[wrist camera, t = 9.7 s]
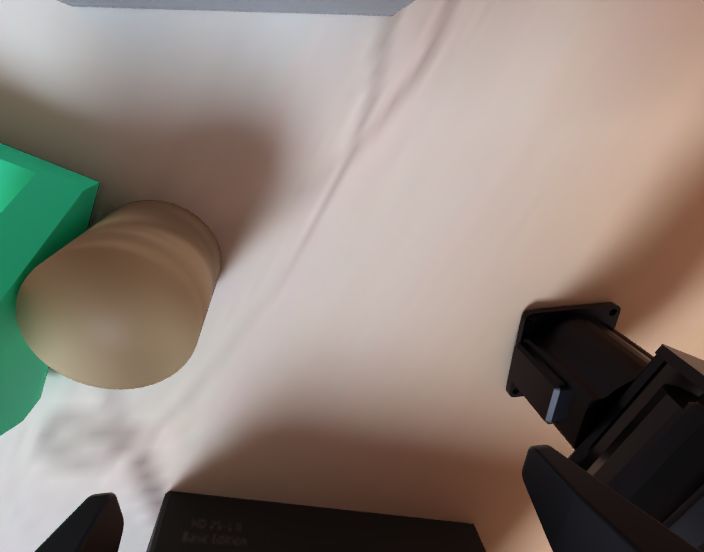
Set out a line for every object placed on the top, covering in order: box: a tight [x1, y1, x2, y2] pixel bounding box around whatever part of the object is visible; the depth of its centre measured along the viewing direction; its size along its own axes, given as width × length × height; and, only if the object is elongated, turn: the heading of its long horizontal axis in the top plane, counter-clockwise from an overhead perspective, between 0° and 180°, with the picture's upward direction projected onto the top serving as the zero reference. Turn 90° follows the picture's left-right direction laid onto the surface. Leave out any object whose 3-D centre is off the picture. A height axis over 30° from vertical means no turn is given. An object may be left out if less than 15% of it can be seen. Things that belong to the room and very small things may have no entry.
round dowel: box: [16, 200, 221, 389], centre depth 16 cm, size 6×6×6 cm
